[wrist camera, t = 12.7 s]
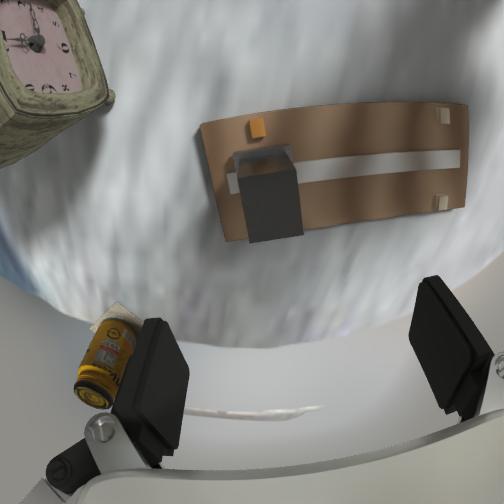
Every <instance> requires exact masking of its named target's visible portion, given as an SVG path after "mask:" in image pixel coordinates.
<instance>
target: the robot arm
mask: <svg viewBox="0 0 504 504" xmlns="http://www.w3.org/2000/svg"><path fill="white" fill-rule="evenodd" d="M409 341H410V343H411V345H412V347H413V349H414V351H415V353H416V356H417V358H418V360H419V362H420V364H421V366H422V369H423V371H424V373H425V375H426V377H427V380H428V382H429V384H430V386H431V389H432V391H433V393H434V396H435V398H436V400H437V403H438V405H439V407H440V408H441V409H444V411H445V413H446V415H447V414H450V413H452V412H455V411H457V412H458V414H459V419H458V422H457V424H456V425H454V426H451V427H449V428H446V429H443V430H440V431H438V432H435V433H432V434H429V435H426V436H423V437H420V438H417V439H414V440H411V441H408V442H405V443H401V444H398V445H394V446H391V447H387V448H383V449H380V450H376V451H372V452H367V453H363V454H359V455H354V456H350V457H345V458H340V459H334V460H329V461H323V462H317V463H310V464H303V465H296V466H286V467H276V468H265V469H249V470H175V469H165V468H164V466H163V465H162V464H161V461H162V456H173V453H174V449H177V448H178V445H179V439H180V432H181V425H182V418H183V412H184V406H185V399H186V393H187V387H188V381H189V367H188V365H187V363H186V361H185V359H184V357H183V355H182V353H181V351H180V348H179V346H178V344H177V342H176V340H175V338H174V336H173V333H172V331H171V329H170V327H169V325H168V323H167V322H166V321H163V320H162V319H161V318H150V319H145V321H144V323H143V326H142V329H141V331H140V334H139V337H138V340H137V342H136V345H135V348H134V351H133V354H131V355H130V357H129V359H128V361H127V364H126V367H125V370H124V373H123V376H122V379H121V382H120V385H119V388H118V391H117V394H116V397H115V400H114V403H113V407H112V410H111V413H106V412H105V413H100V414H97V415H95V416H93V417H92V418H91V419H90V420H89V421H88V423H87V424H86V427H85V431H84V435H85V438H84V439H82V440H81V441H79V442H78V443H76V444H75V445H73V446H72V447H70V448H68V449H67V450H65V451H64V452H62V453H61V454H59V455H57V456H56V457H54V458H53V459H52V460H51V461H50V462H49V464H48V465H47V468H46V477H47V478H46V479H45V480H44V479H43V478H41V480H40V481H39V482H38V483H37V484H36V485H35V486H34V487H33V489H32V490H31V491H30V492H29V493H28V494H27V495H26V497H25V498H24V499H23V500H22V501H21V502H20V503H19V504H504V351H503V352H499V353H497V354H496V355H494V353H493V351H492V350H491V348H490V347H489V345H488V343H487V342H486V340H485V339H484V337H483V336H482V334H481V333H480V331H479V330H478V329H477V327H476V326H475V324H474V322H473V321H472V320H471V318H470V317H469V315H468V314H467V313H466V311H465V310H464V308H463V307H462V306H461V304H460V303H459V301H458V300H457V299H456V297H455V296H454V295H453V293H452V292H451V291H450V289H449V288H448V287H447V286H446V284H445V283H444V282H443V280H442V279H441V278H440V277H439V276H438V275H435V276H430V277H426V278H424V279H423V280H422V282H421V283H420V284H419V286H418V292H417V297H416V302H415V307H414V312H413V317H412V322H411V326H410V331H409Z"/></svg>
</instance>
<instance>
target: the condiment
mask: <svg viewBox="0 0 504 504" xmlns="http://www.w3.org/2000/svg"><path fill="white" fill-rule="evenodd" d="M118 317H119V318H118ZM121 317H123V319H122V318H121ZM142 326H143V322H142V321H141V320H140V319H138V318H137V317H136V316H135V315H134V314H132V313H130V312H129V311H128V310H127V309H126V308H125V307H123V306H122V305H120V304H119V303H118V302H116V303H115V304H114V305H113V306H112V307H111V308H110V309H109V310H108V311H107V312H106V313H105V314H104V315H103V316H102V317H101V318H100V319H99V320H98V321H97V322H96V323H95V324H94V325H93V326H92V327H91V328H90V330H91V331H92V332H94V333H95V335H94V337H93V340H92V341H91V343H90V345H89V348H88V349H87V352H86V354H85V356H84V358H83V360H82V362H81V365H80V366H79V369H78V374H79V376H78V377H77V381H76V383H75V385H74V393H75V394H76V395H77V397H78V398H79V399H80V400H81V401H82V402H84V403H85V404H87V405H89V406H91V407H94V408H97V409H109V408H110V407H111V406H112V405H113V400H114V399H115V397H116V394H117V391H118V388H119V385H120V382H121V379H122V376H123V373H124V370H125V367H126V364H127V361H128V359H129V357H130V355H131V354H133V351H134V348H135V345H136V342H137V340H138V337H139V334H140V331H141V329H142Z"/></svg>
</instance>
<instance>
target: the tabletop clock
mask: <svg viewBox="0 0 504 504" xmlns="http://www.w3.org/2000/svg"><path fill="white" fill-rule="evenodd" d="M84 14H85V13H84V10H83V9H82V8H80V6H79V4H78V2H77V0H0V168H3V167H5V166H8V165H11V164H14V163H16V162H17V161H19V160H21V159H22V158H24V157H26V156H27V155H29V154H31V153H33V152H34V151H36V150H37V149H39V148H40V147H41V146H43V145H44V144H45V143H47V142H48V141H49V140H51V139H52V138H53V137H55V136H56V135H58V134H59V133H61V132H62V131H63V130H65V129H66V128H68V127H69V126H71V125H72V124H74V123H75V122H77V121H78V120H80V119H82V118H83V117H85V116H86V115H88V114H90V113H91V112H93V111H94V110H96V109H98V108H99V107H101V106H102V105H104V104H105V105H109V104H111V103H112V102H113V101H114V99H115V93H114V92H113V90H110V89H108V84H107V80H106V77H105V74H104V71H103V68H102V65H101V62H100V59H99V56H98V53H97V50H96V47H95V44H94V41H93V38H92V36H91V33H90V31H89V28H88V26H87V23H86V20H85V18H84Z"/></svg>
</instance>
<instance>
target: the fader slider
mask: <svg viewBox="0 0 504 504" xmlns="http://www.w3.org/2000/svg"><path fill="white" fill-rule="evenodd" d="M233 160H234V165H235V170H236V175H237V181H238V186H239V191H240V196H241V201H242V206H243V211H244V216H245V221H246V227H247V232H248V237H249V242H250V243H255V242H261V241H268V240H274V239H281V238H287V237H294V236H300V235H304V232H303V223H302V214H301V205H300V196H299V188H298V180H297V172H296V168H295V166H294V165H293V158H292V150H291V145H290V144H289V143H288V144H281V145H274V146H267V147H261V148H255V149H249V150H243V151H237V152H233Z"/></svg>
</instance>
